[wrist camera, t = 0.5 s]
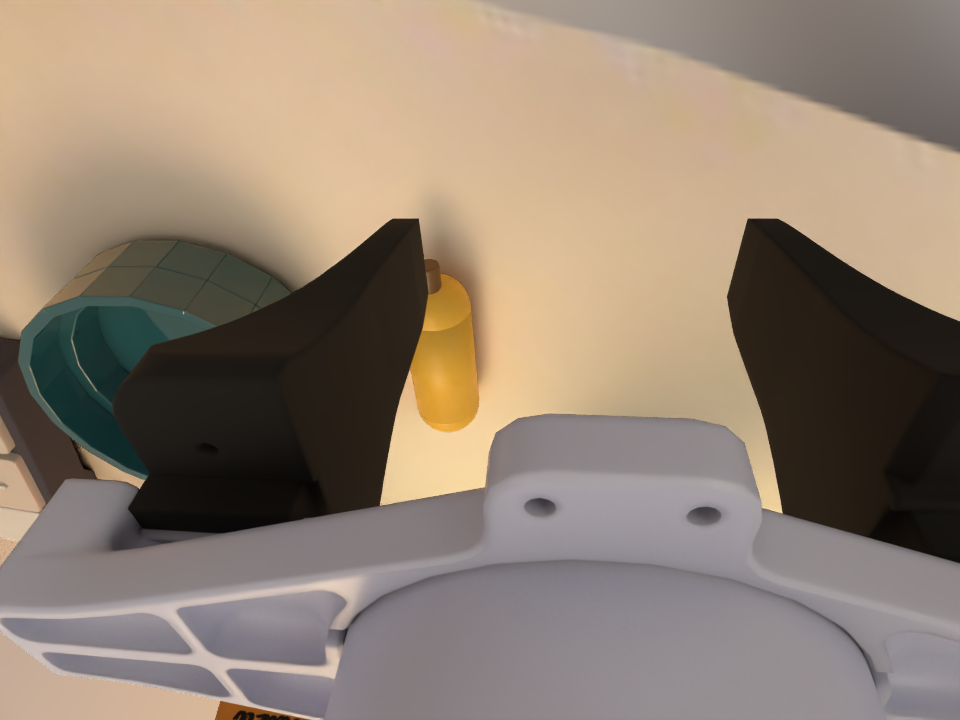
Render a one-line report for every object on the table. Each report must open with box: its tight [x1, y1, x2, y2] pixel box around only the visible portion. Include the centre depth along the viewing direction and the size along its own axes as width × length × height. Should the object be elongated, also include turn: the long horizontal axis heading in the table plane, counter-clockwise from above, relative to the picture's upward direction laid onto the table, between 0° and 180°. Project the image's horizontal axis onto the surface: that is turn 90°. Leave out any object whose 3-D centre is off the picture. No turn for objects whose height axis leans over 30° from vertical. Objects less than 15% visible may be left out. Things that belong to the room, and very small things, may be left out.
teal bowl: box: [18, 240, 291, 480], centre depth 29 cm, size 13×13×4 cm
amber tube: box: [410, 259, 479, 432], centre depth 27 cm, size 10×3×3 cm, turn 4°
